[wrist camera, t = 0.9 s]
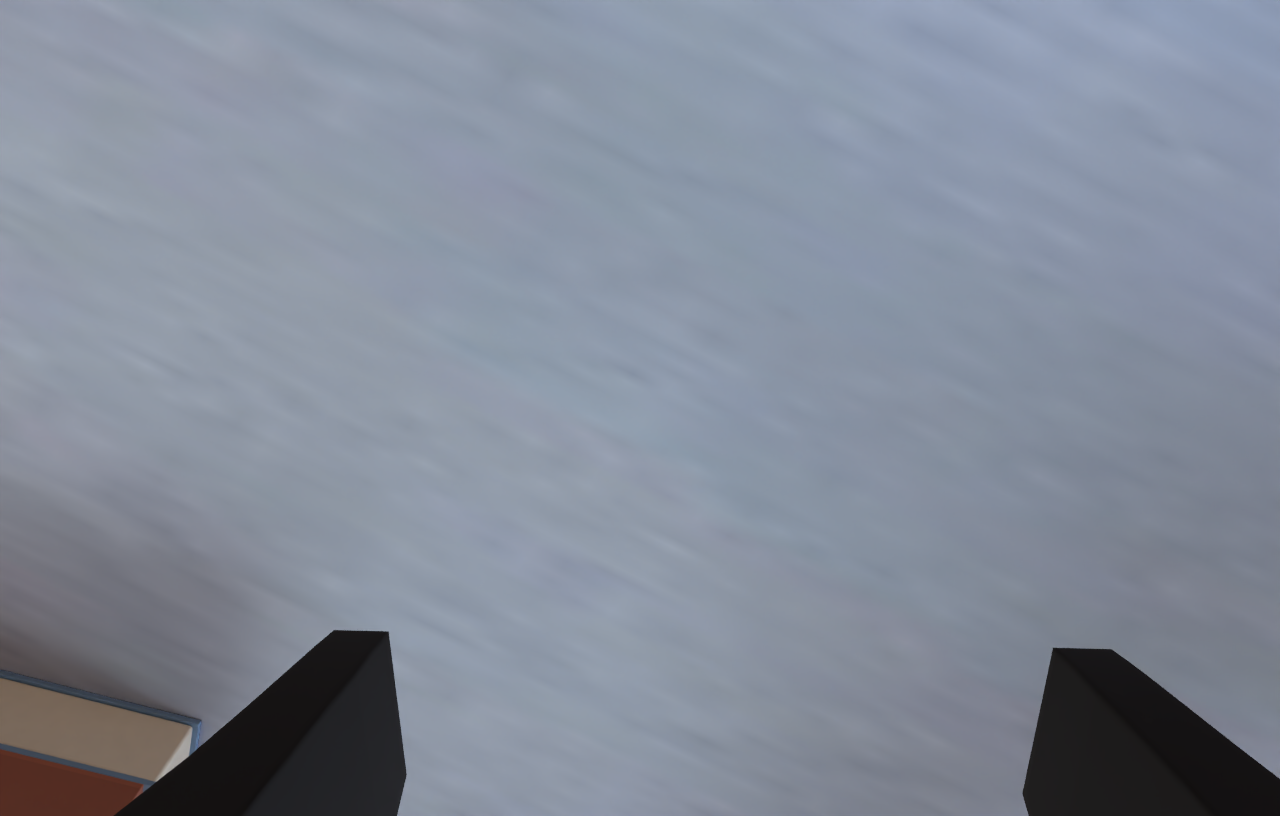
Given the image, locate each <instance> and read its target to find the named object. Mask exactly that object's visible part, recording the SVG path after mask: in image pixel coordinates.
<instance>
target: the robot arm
mask: <svg viewBox="0 0 1280 816" xmlns="http://www.w3.org/2000/svg"><path fill="white" fill-rule="evenodd" d="M405 779H406V767H405V759H404V751H403V743H402V735H401V727H400V719H399V711H398V703H397V695H396V688H395V680H394V672H393V664H392V656H391V648H390V640H389V632H383V631H343V630H334V631H333V632H331V633H330V634H329V635H328V636H327V637H325V638H324V639H323V640H322V641H321V642H319V643H318V644H317V645H316V646H315V647H314V648H313V649H311V650H310V651H309V652H308V653H307V654H306V655H305V656H303V657H302V658H301V659H300V660H299V661H298V662H297V663H296V664H294V665H293V666H292V667H291V668H290V669H289V670H288V671H287V672H285V673H284V674H283V675H282V676H281V677H280V678H279V679H278V680H276V681H275V682H274V683H273V684H272V685H271V686H270V687H269V688H267V689H266V690H265V691H264V692H263V693H262V694H261V695H259V696H258V697H257V698H256V699H255V700H254V701H253V702H251V703H250V704H249V705H248V706H247V707H246V708H245V709H243V710H242V711H241V712H240V713H239V714H238V715H236V716H235V717H234V718H233V719H232V720H231V721H229V722H228V723H227V724H226V725H225V726H224V727H222V728H221V729H220V730H219V731H218V732H217V733H215V734H214V735H213V736H212V737H211V738H210V739H209V740H207V741H206V742H205V743H204V744H203V745H201V746H200V747H199V748H198V749H197V750H196V751H194V752H193V753H192V754H191V755H190V756H188V757H187V758H186V759H185V760H183V761H182V762H181V763H180V764H178V765H177V766H176V767H175V768H173V769H172V770H171V771H169V772H168V773H167V774H166V775H164V776H163V777H162V778H161V779H159V780H158V781H157V782H155V783H154V784H153V785H152V786H150V787H149V788H148V789H147V790H145V791H144V792H143V793H141V794H140V795H139V796H138V797H136V798H135V799H134V800H133V801H131V802H130V803H129V804H128V805H126V806H125V807H124V808H122V809H121V810H120V811H119V812H117V813H116V814H115V815H114V816H397V813H398V809H399V804H400V800H401V796H402V792H403V788H404V783H405ZM1023 797H1024V800H1025V804H1026V807H1027V811H1028V814H1029V816H1280V779H1279V778H1278V777H1276V776H1275V775H1274V774H1273V773H1271V772H1270V771H1269V770H1267V769H1266V768H1265V767H1263V766H1262V765H1261V764H1259V763H1258V762H1257V761H1256V760H1254V759H1253V758H1252V757H1250V756H1249V755H1248V754H1247V753H1245V752H1244V751H1243V750H1241V749H1240V748H1239V747H1238V746H1236V745H1235V744H1234V743H1232V742H1231V741H1230V740H1229V739H1227V738H1226V737H1225V736H1223V735H1222V734H1221V733H1220V732H1218V731H1217V730H1216V729H1215V728H1213V727H1212V726H1211V725H1209V724H1208V723H1207V722H1206V721H1204V720H1203V719H1202V718H1201V717H1199V716H1198V715H1197V714H1195V713H1194V712H1193V711H1192V710H1190V709H1189V708H1188V707H1187V706H1185V705H1184V704H1183V703H1182V702H1180V701H1179V700H1178V699H1176V698H1175V697H1174V696H1173V695H1171V694H1170V693H1169V692H1167V691H1166V690H1165V689H1164V688H1162V687H1161V686H1160V685H1159V684H1157V683H1156V682H1155V681H1153V680H1152V679H1151V678H1150V677H1148V676H1147V675H1146V674H1144V673H1143V672H1142V671H1140V670H1139V669H1138V668H1136V667H1135V666H1134V665H1132V664H1131V663H1130V662H1128V661H1127V660H1126V659H1124V658H1123V657H1121V656H1120V655H1119V654H1117V653H1116V652H1114V651H1113V650H1111V649H1076V648H1053V651H1052V656H1051V661H1050V666H1049V670H1048V675H1047V680H1046V685H1045V689H1044V694H1043V699H1042V704H1041V708H1040V713H1039V718H1038V723H1037V727H1036V732H1035V737H1034V742H1033V746H1032V751H1031V756H1030V760H1029V765H1028V770H1027V775H1026V779H1025V784H1024V789H1023Z"/></svg>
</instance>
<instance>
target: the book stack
mask: <svg viewBox="0 0 1280 816" xmlns="http://www.w3.org/2000/svg"><path fill="white" fill-rule="evenodd" d="M200 726H201V720H197V719H193V718H189V717H185V716H181V715H177V714H173V713H170V712H166V711H162V710H158V709H154V708H150V707H146V706H142V705H138V704H134V703H130V702H126V701H122V700H118V699H114V698H110V697H106V696H102V695H98V694H95V693H91V692H87V691H83V690H79V689H75V688H71V687H67V686H63V685H59V684H55V683H51V682H47V681H43V680H39V679H35V678H31V677H27V676H24V675H20V674H16V673H12V672H8V671H4V670H0V816H114V815H115V814H116V813H117V812H119V811H120V810H121V809H122V808H124V807H125V806H126V805H128V804H129V803H130V802H131V801H133V800H134V799H135V798H136V797H138V796H139V795H140V794H141V793H143V792H144V791H145V790H147V789H148V788H149V787H150V786H152V785H153V784H154V783H155V782H157V781H158V780H159V779H161V778H162V777H163V776H164V775H166V774H167V773H168V772H169V771H171V770H172V769H173V768H175V767H176V766H177V765H178V764H180V763H181V762H182V761H183V760H185V759H186V758H187V757H188V756H190V755H191V754H192V753H193V752H194V751H196V750H197V747H198V740H199V733H200Z"/></svg>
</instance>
